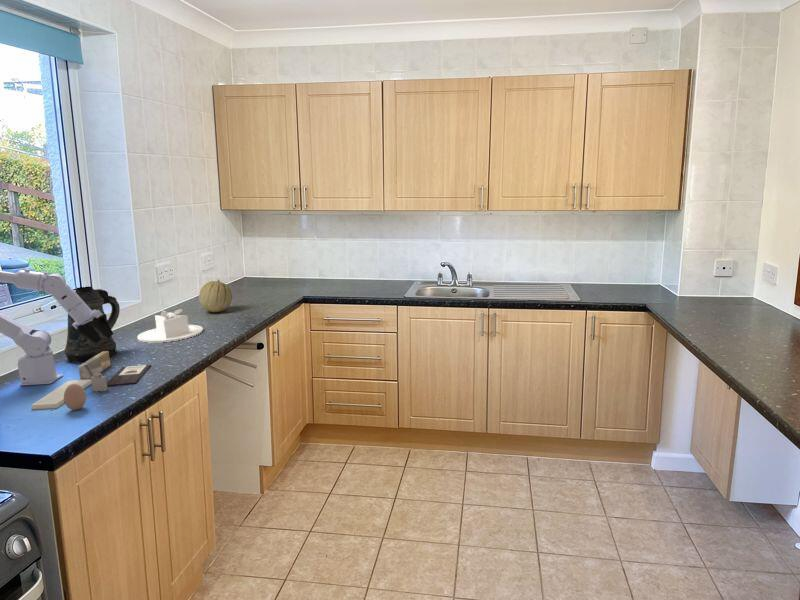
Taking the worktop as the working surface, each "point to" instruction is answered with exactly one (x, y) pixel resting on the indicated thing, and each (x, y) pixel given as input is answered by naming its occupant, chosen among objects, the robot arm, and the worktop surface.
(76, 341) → the beer stein
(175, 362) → the worktop surface
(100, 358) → the tall tan wooden post
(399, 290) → the worktop surface
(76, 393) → the egg
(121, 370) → the chocolate bar
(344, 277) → the worktop surface
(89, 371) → the lighter
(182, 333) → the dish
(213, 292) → the cantaloupe
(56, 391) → the flat cream panel
